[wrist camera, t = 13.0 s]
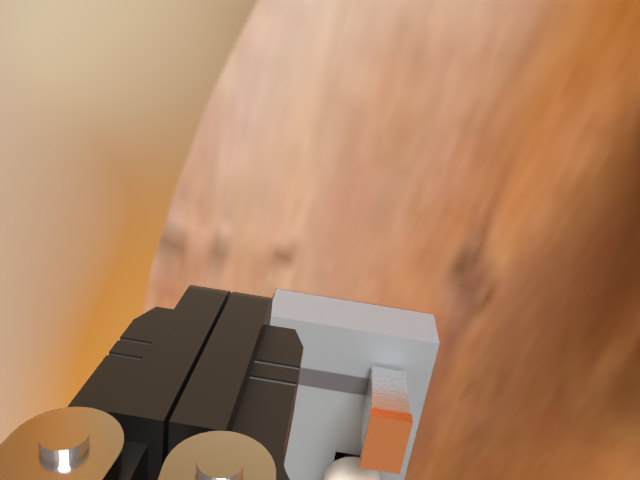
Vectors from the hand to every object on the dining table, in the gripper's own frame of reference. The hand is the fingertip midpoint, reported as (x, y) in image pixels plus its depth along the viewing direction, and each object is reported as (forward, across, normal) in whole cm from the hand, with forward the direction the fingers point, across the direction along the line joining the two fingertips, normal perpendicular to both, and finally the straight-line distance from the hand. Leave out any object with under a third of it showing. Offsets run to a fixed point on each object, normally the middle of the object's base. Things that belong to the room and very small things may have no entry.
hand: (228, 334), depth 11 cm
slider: (+25, -7, +19) cm, 32 cm away
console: (+29, -4, +26) cm, 39 cm away
